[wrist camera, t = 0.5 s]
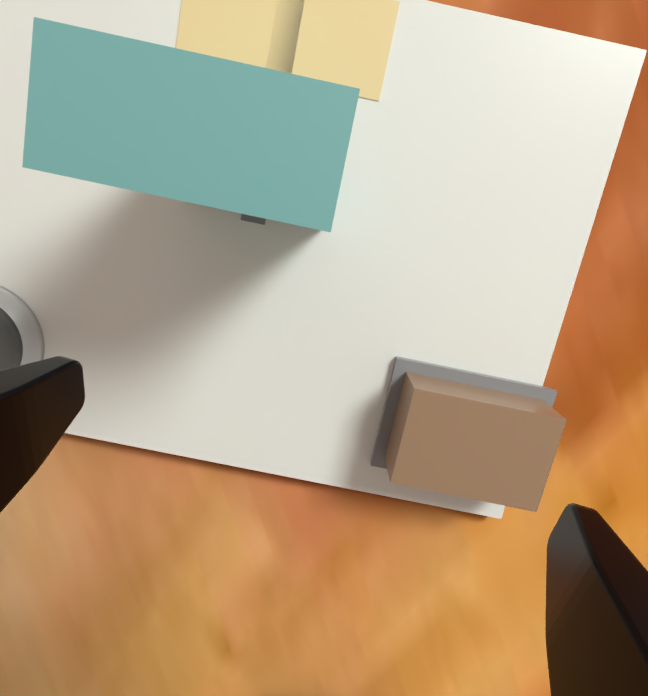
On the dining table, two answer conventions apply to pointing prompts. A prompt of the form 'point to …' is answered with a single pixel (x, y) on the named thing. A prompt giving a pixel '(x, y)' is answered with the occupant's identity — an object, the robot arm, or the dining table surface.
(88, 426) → the console
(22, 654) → the dining table surface
